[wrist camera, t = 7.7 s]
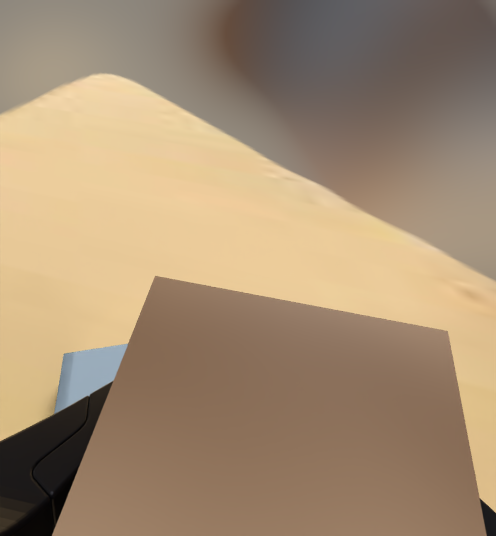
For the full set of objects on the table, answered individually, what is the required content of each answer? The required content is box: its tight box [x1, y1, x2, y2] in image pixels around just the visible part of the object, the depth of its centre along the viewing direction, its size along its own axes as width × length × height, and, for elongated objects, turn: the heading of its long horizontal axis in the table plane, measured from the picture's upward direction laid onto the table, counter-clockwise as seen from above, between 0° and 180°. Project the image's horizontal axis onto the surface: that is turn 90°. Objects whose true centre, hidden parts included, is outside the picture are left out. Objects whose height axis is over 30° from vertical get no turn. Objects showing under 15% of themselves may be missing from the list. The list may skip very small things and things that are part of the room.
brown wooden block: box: [52, 276, 487, 536], centre depth 8 cm, size 4×4×12 cm
